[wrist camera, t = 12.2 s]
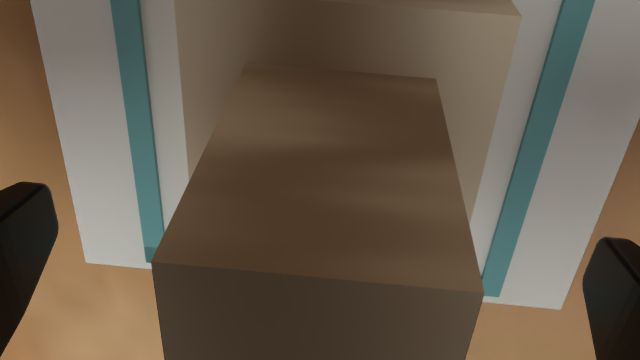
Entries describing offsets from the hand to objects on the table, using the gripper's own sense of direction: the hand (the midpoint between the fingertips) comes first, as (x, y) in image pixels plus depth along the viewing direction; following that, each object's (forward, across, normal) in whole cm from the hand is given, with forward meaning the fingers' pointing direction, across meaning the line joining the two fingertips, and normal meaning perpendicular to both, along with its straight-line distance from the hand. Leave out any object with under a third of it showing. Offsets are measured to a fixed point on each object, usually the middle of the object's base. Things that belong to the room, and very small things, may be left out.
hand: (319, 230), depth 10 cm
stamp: (+5, 0, 0) cm, 5 cm away
